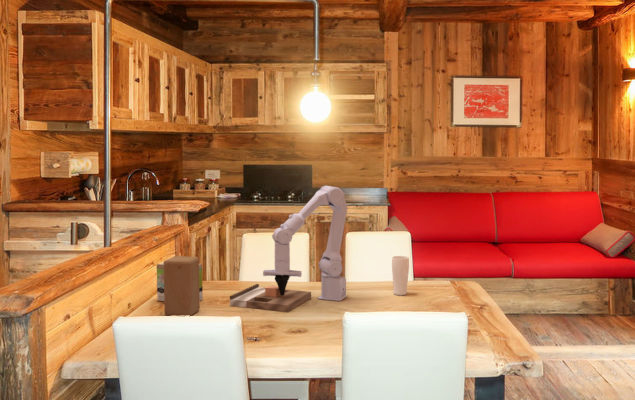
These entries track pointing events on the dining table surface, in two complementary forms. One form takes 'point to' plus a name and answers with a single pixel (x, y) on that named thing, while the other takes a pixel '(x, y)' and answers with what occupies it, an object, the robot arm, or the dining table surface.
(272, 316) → the dining table surface
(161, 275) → the tea box
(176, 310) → the wooden block
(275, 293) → the terracotta block
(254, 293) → the trap board
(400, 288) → the drinking glass
